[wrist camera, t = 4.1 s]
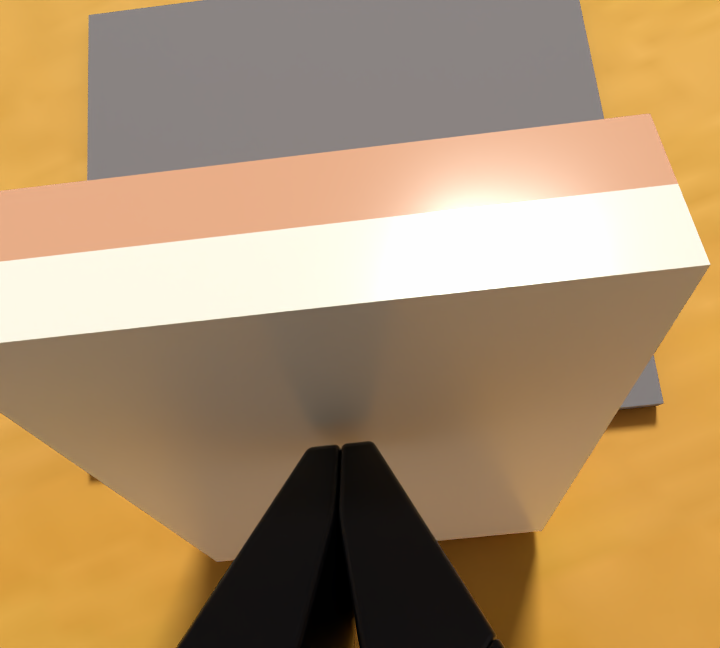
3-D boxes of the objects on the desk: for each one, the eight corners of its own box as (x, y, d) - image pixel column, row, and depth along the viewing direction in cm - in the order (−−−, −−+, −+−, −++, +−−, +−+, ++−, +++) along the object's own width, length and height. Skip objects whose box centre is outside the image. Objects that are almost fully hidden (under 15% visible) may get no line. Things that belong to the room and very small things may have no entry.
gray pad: (656, 405, 15) (663, 403, 15) (93, 463, 16) (84, 462, 16) (565, -36, 18) (569, -47, 18) (95, 25, 19) (88, 15, 19)
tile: (542, 530, 14) (710, 265, 6) (217, 561, 15) (-88, 352, 6) (525, 449, 15) (650, 113, 7) (219, 480, 16) (-43, 196, 7)
